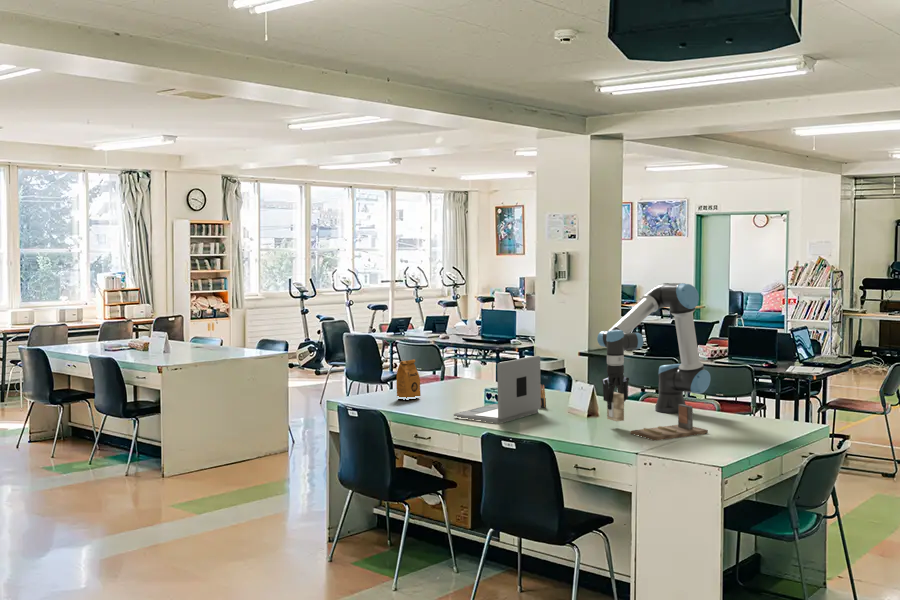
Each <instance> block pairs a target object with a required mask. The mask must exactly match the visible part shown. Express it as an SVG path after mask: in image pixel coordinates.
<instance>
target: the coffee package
mask: <svg viewBox="0 0 900 600" xmlns="http://www.w3.org/2000/svg"><path fill="white" fill-rule="evenodd" d="M415 363H416V359H409V360H401V361H400V362H399V364H398V368H397V371H396V385H395V386H396V397H397V396H399V397H406V398H407V397H415V396H421V397H422V395H421V378H420V374H419V371H418V370H417V367H416V364H415Z"/></svg>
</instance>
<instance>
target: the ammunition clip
mask: <svg viewBox="0 0 900 600" xmlns="http://www.w3.org/2000/svg"><path fill="white" fill-rule="evenodd" d="M545 391H546V389H545V385H544V384H542V385H541V408H540V409H546V408H547V401H546V400H547V397H546V392H545Z"/></svg>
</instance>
